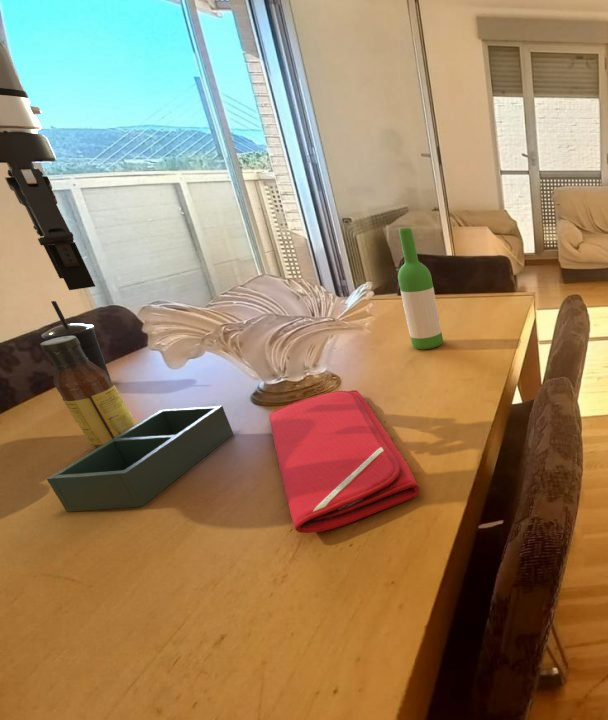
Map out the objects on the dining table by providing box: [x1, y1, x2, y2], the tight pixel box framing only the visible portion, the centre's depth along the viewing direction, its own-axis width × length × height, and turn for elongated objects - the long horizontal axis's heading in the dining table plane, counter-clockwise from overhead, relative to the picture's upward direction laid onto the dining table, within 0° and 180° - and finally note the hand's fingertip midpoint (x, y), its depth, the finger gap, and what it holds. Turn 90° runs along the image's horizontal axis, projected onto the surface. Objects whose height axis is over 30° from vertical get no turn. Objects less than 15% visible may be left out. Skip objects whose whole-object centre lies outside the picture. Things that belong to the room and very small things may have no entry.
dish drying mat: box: [269, 389, 420, 534], centre depth 78 cm, size 16×41×4 cm, turn 38°
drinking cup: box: [41, 300, 112, 381], centre depth 102 cm, size 8×8×20 cm
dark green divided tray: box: [46, 405, 234, 513], centre depth 75 cm, size 10×20×6 cm, turn 5°
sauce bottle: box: [39, 336, 138, 450], centre depth 80 cm, size 7×6×20 cm
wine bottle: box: [397, 227, 444, 351], centre depth 119 cm, size 8×8×30 cm
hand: (76, 282), depth 74 cm, fingers open, 13 cm apart
